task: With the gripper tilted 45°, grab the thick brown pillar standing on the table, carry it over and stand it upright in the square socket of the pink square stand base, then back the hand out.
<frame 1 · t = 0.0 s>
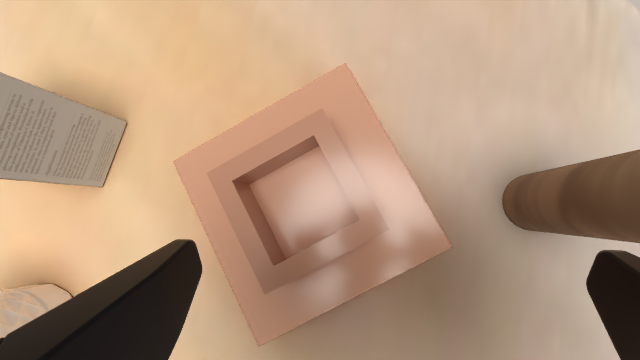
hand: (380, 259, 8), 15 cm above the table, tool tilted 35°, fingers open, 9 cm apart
white cup: (46, 327, 25), on the table
thick brown pillar: (532, 202, 21), on the table
small box: (76, 140, 26), on the table
pink square stand base: (305, 201, 23), on the table
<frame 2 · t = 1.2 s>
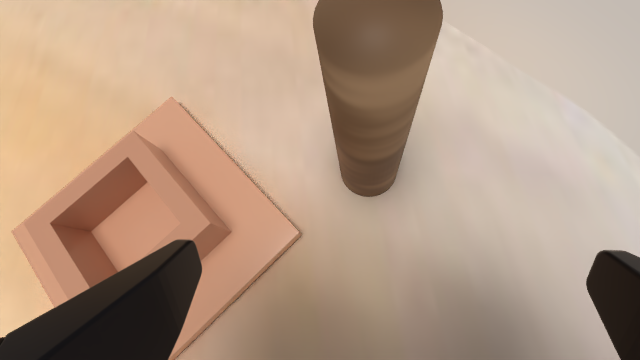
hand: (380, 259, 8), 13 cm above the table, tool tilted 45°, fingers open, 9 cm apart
thick brown pillar: (368, 170, 22), on the table
pink square stand base: (156, 234, 22), on the table
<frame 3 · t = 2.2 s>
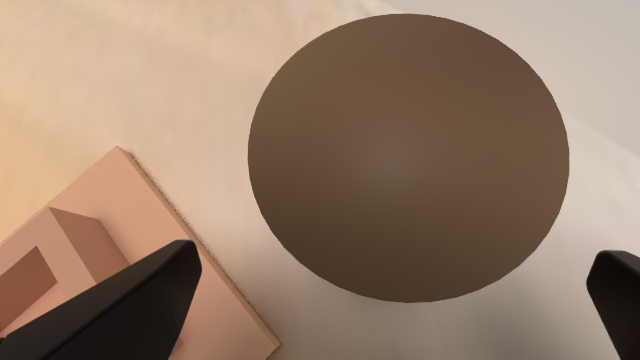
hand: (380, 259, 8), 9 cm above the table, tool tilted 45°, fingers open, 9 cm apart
thick brown pillar: (371, 252, 16), on the table
pink square stand base: (88, 334, 17), on the table
when the fingers open (9 cm above the table, at t = 7.6 s): thick brown pillar drops 1 cm, resting on pink square stand base.
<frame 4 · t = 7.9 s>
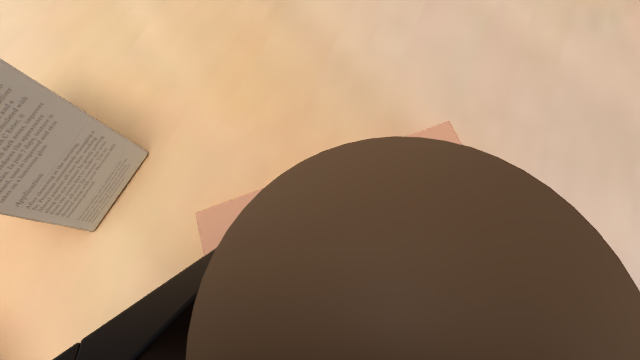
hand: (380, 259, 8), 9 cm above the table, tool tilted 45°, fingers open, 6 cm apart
thick brown pillar: (371, 304, 15), point 1 cm above the table, touching pink square stand base
small box: (80, 166, 20), on the table
pink square stand base: (370, 302, 16), on the table
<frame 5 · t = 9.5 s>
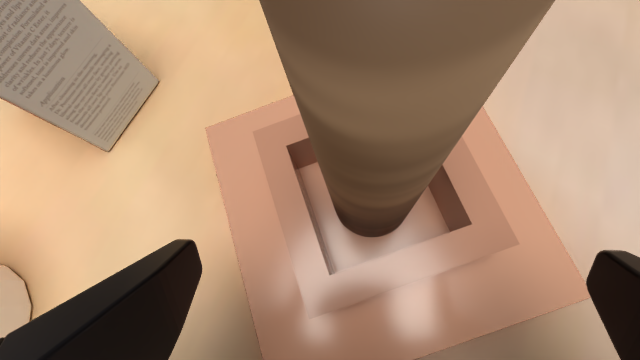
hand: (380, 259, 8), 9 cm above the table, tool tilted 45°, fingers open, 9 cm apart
thick brown pillar: (371, 199, 16), point 1 cm above the table, touching pink square stand base
small box: (94, 95, 21), on the table
pink square stand base: (370, 204, 17), on the table
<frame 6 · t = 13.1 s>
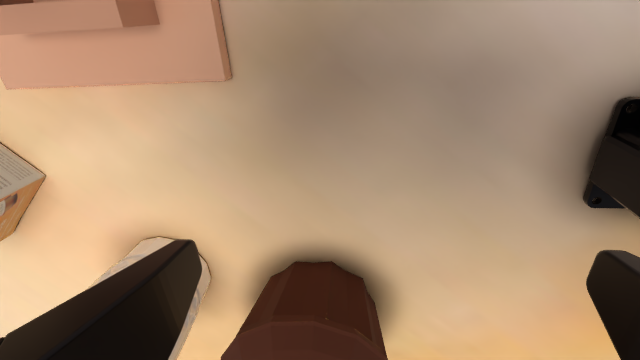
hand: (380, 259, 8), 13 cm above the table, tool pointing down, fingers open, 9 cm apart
white cup: (173, 267, 27), on the table
muffin: (318, 300, 27), on the table
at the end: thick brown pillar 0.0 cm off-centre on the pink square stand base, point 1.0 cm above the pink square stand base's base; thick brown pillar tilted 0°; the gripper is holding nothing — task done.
